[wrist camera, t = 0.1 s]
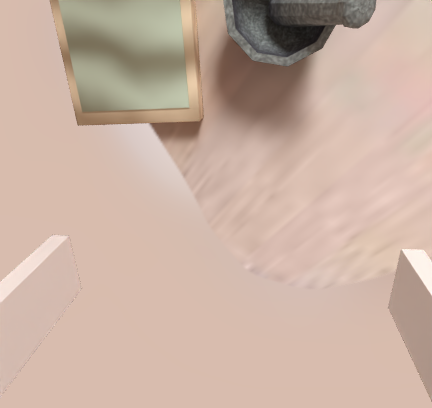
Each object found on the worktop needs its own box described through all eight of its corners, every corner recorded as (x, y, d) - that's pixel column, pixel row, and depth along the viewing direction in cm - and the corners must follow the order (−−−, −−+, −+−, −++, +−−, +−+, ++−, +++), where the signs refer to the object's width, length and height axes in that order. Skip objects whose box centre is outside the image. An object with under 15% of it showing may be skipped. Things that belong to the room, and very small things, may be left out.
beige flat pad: (58, -17, 36) (43, -21, 33) (192, -30, 34) (187, -36, 31) (87, 121, 41) (76, 125, 39) (203, 116, 39) (199, 121, 37)
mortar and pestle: (222, 52, 36) (204, 56, 26) (238, -57, 32) (224, -107, 21) (330, 69, 36) (358, 81, 25) (359, -39, 32) (408, -82, 21)
